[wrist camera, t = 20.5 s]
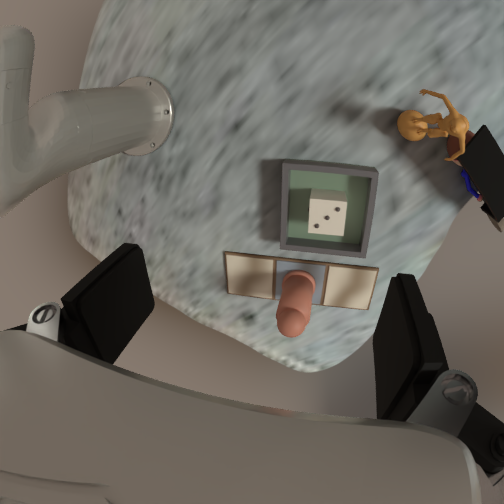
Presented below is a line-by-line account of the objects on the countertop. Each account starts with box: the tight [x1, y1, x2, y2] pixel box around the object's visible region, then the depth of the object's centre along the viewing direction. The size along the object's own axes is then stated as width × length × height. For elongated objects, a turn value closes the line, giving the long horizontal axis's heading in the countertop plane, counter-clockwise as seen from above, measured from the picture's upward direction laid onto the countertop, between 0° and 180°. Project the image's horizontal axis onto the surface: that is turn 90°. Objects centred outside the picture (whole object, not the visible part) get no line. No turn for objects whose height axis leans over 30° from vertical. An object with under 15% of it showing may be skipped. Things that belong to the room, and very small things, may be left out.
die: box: [308, 188, 347, 236], centre depth 36 cm, size 5×5×5 cm
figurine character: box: [447, 125, 504, 232], centre depth 28 cm, size 7×8×15 cm
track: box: [225, 251, 379, 310], centre depth 45 cm, size 24×8×1 cm, turn 91°
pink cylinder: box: [276, 270, 316, 337], centre depth 41 cm, size 5×5×11 cm
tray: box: [280, 159, 379, 258], centre depth 38 cm, size 12×12×3 cm
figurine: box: [397, 89, 469, 161], centre depth 25 cm, size 8×6×12 cm
